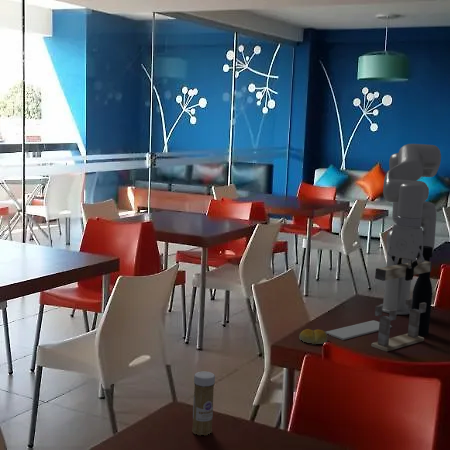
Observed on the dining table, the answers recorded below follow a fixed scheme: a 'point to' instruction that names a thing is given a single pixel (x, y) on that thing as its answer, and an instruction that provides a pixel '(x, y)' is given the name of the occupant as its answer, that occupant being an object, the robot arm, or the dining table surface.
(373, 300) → the dining table surface
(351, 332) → the mat
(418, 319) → the rack
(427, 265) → the rail
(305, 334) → the bread roll
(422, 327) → the wine bottle
